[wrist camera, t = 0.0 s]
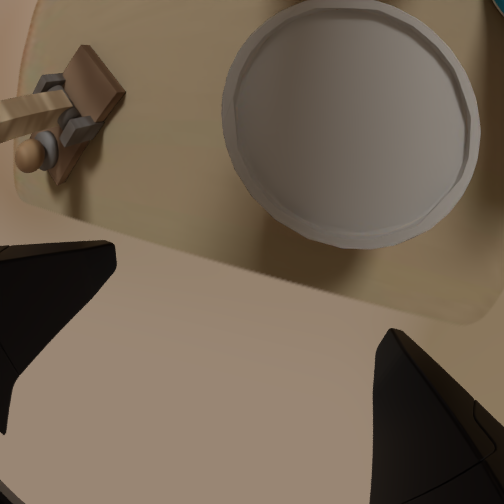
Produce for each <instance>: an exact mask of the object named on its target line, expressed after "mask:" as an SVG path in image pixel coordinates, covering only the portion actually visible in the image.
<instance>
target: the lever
mask: <svg viewBox="0 0 504 504" xmlns="http://www.w3.org/2000/svg"><path fill="white" fill-rule="evenodd" d="M80 117H81V114H80V113H79V111H78V110H77V108H76V107H75V105H74V104H73V102H72V101H71V99H70V98H69V96H68V95H67V93H66V92H65V90H64V89H63V87H62V86H61V85H56V86H54V87H52V88H51V89H49V90H48V91H47V92H43V93H36V94H31V95H25V96H20V97H15V98H10V99H6V100H1V101H0V143H2V142H5V141H8V140H11V139H14V138H18V137H21V136H24V135H27V134H31V133H34V132H38V131H41V130H45V129H49V128H53V127H57V126H60V127H61V129H62V130H64V128H65V127H66V125H67V123H68V122H69V120H70V119H75V118H80Z"/></svg>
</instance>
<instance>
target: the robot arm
mask: <svg viewBox="0 0 504 504" xmlns="http://www.w3.org/2000/svg"><path fill="white" fill-rule="evenodd" d="M116 266H117V261H116V251H115V245H114V244H113V243H111V242H108V241H106V240H97V241H78V242H60V243H43V244H29V245H13V246H9V245H7V246H0V432H1V433H2V434H3V435H5V433H6V430H7V421H8V414H9V407H10V401H11V395H12V389H13V386H14V384H15V382H16V380H17V378H18V377H19V375H21V373H22V372H23V371H24V370H25V369H26V368H27V367H28V365H29V364H30V363H31V362H32V361H33V360H34V359H35V357H36V356H37V355H38V354H39V353H40V352H41V351H42V350H43V349H44V348H45V346H46V345H47V344H48V343H49V342H50V341H51V340H52V339H53V338H54V337H55V336H56V335H57V334H58V333H59V331H60V330H61V329H62V328H63V327H64V326H65V325H66V324H67V323H68V322H69V321H70V320H71V319H72V318H73V317H74V316H75V315H76V314H77V313H78V312H79V311H80V310H81V309H82V308H83V307H84V306H85V305H86V304H87V303H88V302H89V301H90V300H91V299H92V298H93V296H94V295H95V294H96V293H97V292H98V291H99V289H100V288H101V287H102V286H103V285H104V283H105V282H106V281H107V280H108V279H109V277H110V276H111V275H112V274H113V273H114V271H115V269H116ZM0 504H25V503H24V502H23V501H21V500H20V499H19V498H18V497H17V496H16V495H15V494H14V493H13V492H12V491H11V490H10V489H9V488H8V487H7V486H6V485H5V484H4V483H3V482H2V481H1V480H0ZM370 504H504V427H503V426H502V425H501V424H500V423H499V422H498V421H497V420H496V419H495V418H494V417H493V416H492V415H491V414H490V413H489V412H488V411H487V410H486V409H485V408H484V407H482V405H480V403H479V402H478V401H477V400H474V398H473V397H472V396H471V395H470V394H469V393H468V392H467V391H466V390H465V389H464V388H463V387H462V386H460V384H458V382H456V381H455V380H454V379H453V378H452V377H451V376H450V375H449V374H448V373H447V372H446V371H445V370H444V369H443V368H442V367H441V366H440V365H439V364H438V363H437V362H436V361H434V360H433V359H432V358H431V357H430V356H429V355H428V354H427V353H426V352H425V351H423V349H422V348H421V347H419V346H418V345H417V344H416V343H415V342H414V341H413V340H412V339H411V338H410V337H409V336H407V335H406V334H405V333H404V332H403V331H401V330H398V329H394V328H390V329H389V330H388V331H387V333H386V335H385V336H384V338H383V339H382V341H381V342H380V344H379V346H378V348H377V351H376V355H375V370H374V383H373V459H372V479H371V493H370Z"/></svg>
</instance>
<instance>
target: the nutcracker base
mask: <svg viewBox="0 0 504 504" xmlns="http://www.w3.org/2000/svg"><path fill="white" fill-rule="evenodd" d="M56 85H61V86H62V87H63V89H64V90H65V92H66V93H67V95H68V96H69V98H70V99H71V101H72V102H73V104H74V105H75V107H76V108H77V110H78V111H79V113H80V114H81V117H80V118H75V119H70V120H69V122H68V123H67V125H66V127H65V128H64V130H62V129H61V127H60V126H57V127H53V128H49V129H45V130H41V131H38V132H34V133H32V134H31V137H30V139H28V140H26V141H24V142H22V143H21V144H20V145H19V147H18V148H17V151H16V154H15V162H16V165H17V167H18V168H19V169H20V170H21V171H22V172H25V173H31V172H34V171H36V170H37V169H39V168H40V169H41V170H43V171H46V170H48V172H49V174H50V175H51V177H52V178H53V180H54V182H55V183H56V185H59V184H62V183H64V182H65V180H66V179H67V177H68V175H69V173H70V172H71V170H72V168H73V167H74V165H75V163H76V162H77V160H78V158H79V157H80V155H81V154H82V152H83V151H84V149H85V147H86V146H87V144H88V143H89V141H90V140H92V139H93V138H94V137H95V135H96V134H97V132H98V131H99V130H100V128H101V127H102V125H103V124H104V123H105V122H104V120H105V118H106V117H107V116H108V114H109V113H110V112H111V110H112V109H113V108H114V106H115V105H116V104H117V102H118V101H119V100H120V99H121V97H122V96H123V95H124V94H125V92H126V91H125V90H124V89H123V88H122V86H121V85H120V84H119V82H118V81H117V80H116V79H115V77H114V76H113V75H112V73H111V72H110V71H109V70H108V68H107V67H106V66H105V64H104V63H103V62H102V61H101V59H100V58H99V57H98V55H97V54H96V53H95V52H94V50H93V49H92V48H91V46H90V45H81V46H80V47H79V49H78V50H77V52H76V53H75V55H74V56H73V58H72V59H71V61H70V62H69V64H68V66H67V67H66V69H65V70H64V72H63V73H59V74H47V75H42V76H41V78H40V80H39V82H38V84H37V86H36V88H35V90H34V92H33V94H36V93H43V92H47V91H48V90H49V89H51V88H52V87H54V86H56Z"/></svg>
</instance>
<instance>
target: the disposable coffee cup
mask: <svg viewBox="0 0 504 504" xmlns="http://www.w3.org/2000/svg"><path fill="white" fill-rule="evenodd" d="M221 114H222V127H223V134H224V138H225V143H226V147H227V150H228V152H229V156H230V158H231V161H232V163H233V166H234V169H235V171H236V172H237V174H238V175H239V177H240V179H241V180H242V182H243V183H244V185H245V186H246V188H247V190H248V191H249V193H250V195H251V196H252V197H253V198H254V199H255V200H256V201H257V202H258V203H259V204H260V205H261V206H262V207H263V208H264V209H265V210H266V211H267V212H268V213H269V214H270V215H271V216H272V217H273V218H274V219H275V220H277V221H278V222H280V223H282V224H283V225H285V226H287V227H289V228H290V229H292V230H294V231H295V232H297V233H299V234H300V235H302V236H304V237H305V238H307V239H310V240H314V241H318V242H321V243H325V244H328V245H332V246H335V247H339V248H342V249H376V248H382V247H388V246H394V245H397V244H399V243H402V242H404V241H407V240H409V239H412V238H414V237H416V236H418V235H420V234H422V233H424V232H426V231H428V230H430V229H431V228H432V227H433V226H434V225H436V224H437V223H438V222H439V221H440V220H442V219H443V218H444V217H445V216H446V215H447V214H449V212H450V211H451V210H452V209H453V207H454V206H455V205H456V203H457V202H458V201H459V200H460V198H461V197H462V196H463V194H464V192H465V190H466V188H467V186H468V184H469V182H470V180H471V178H472V176H473V173H474V169H475V166H476V163H477V159H478V153H479V144H480V135H481V128H480V120H479V113H478V107H477V101H476V97H475V94H474V92H473V89H472V86H471V84H470V81H469V78H468V76H467V74H466V72H465V70H464V69H463V67H462V66H461V64H460V62H459V61H458V59H457V58H456V56H455V55H454V53H453V52H452V50H451V49H450V48H449V47H448V46H447V44H446V43H445V42H444V41H443V40H442V39H441V38H440V37H439V36H438V35H437V34H436V33H435V32H434V31H433V30H431V29H430V28H429V27H428V26H426V25H425V24H424V23H422V22H421V21H420V20H418V19H417V18H415V17H413V16H411V15H410V14H408V13H406V12H404V11H402V10H400V9H398V8H396V7H394V6H392V5H389V4H385V3H382V2H379V1H375V0H307V1H303V2H301V3H298V4H296V5H293V6H291V7H289V8H287V9H284V10H282V11H280V12H278V13H277V14H275V15H274V16H273V17H271V18H270V19H268V20H267V21H265V22H264V23H263V24H262V25H261V26H260V27H259V28H257V29H256V30H255V31H254V32H253V33H252V34H251V35H250V36H249V38H248V39H247V40H246V42H245V43H244V44H243V46H242V47H241V48H240V50H239V51H238V53H237V55H236V57H235V59H234V61H233V63H232V65H231V67H230V69H229V72H228V75H227V78H226V83H225V87H224V91H223V97H222V113H221Z"/></svg>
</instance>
